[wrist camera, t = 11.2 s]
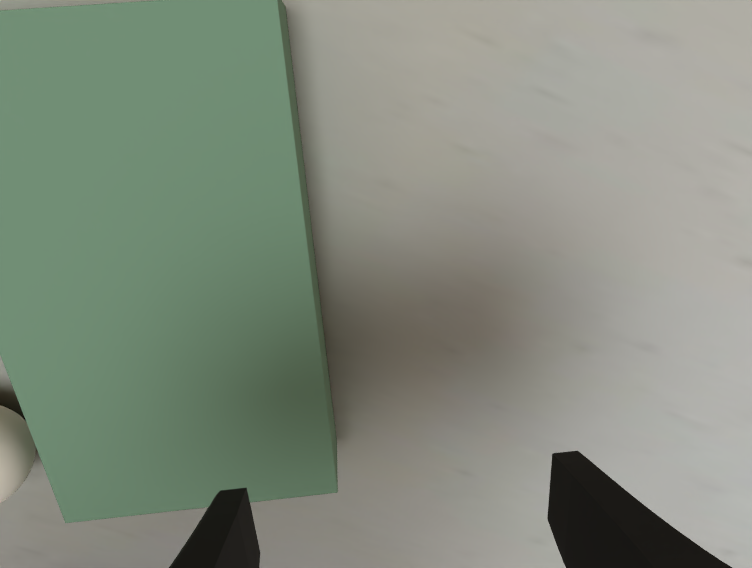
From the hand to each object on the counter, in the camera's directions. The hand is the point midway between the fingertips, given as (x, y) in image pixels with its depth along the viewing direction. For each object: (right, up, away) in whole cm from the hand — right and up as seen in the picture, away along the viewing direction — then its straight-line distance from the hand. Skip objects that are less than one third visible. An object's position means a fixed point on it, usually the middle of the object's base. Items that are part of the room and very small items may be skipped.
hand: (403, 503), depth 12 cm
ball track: (-12, +5, +7) cm, 15 cm away
